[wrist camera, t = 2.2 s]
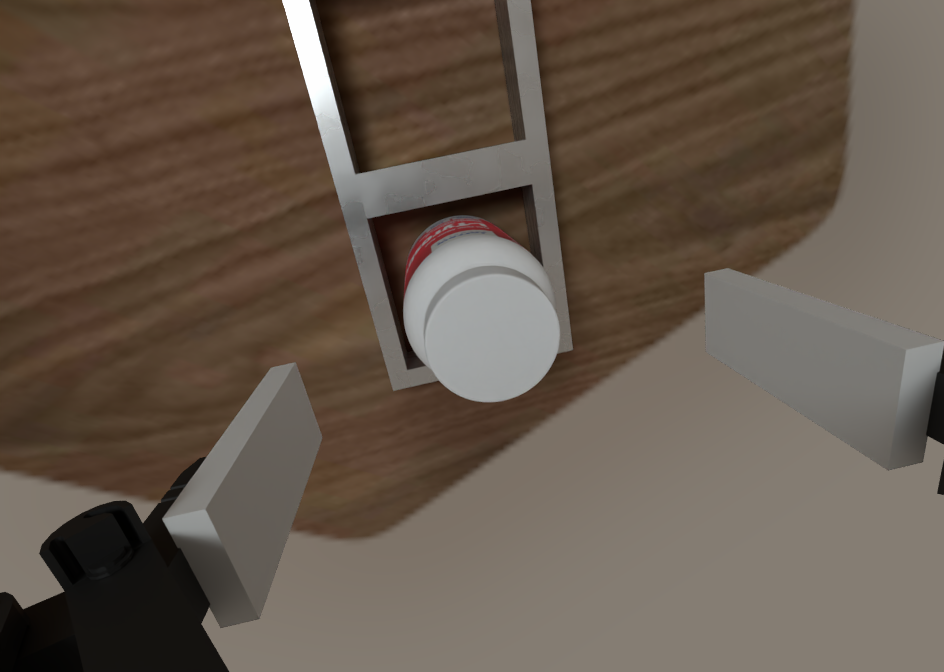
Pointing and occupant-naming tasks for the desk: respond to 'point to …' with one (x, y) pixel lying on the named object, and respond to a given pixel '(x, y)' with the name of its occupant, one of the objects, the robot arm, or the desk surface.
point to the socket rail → (437, 174)
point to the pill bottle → (479, 310)
